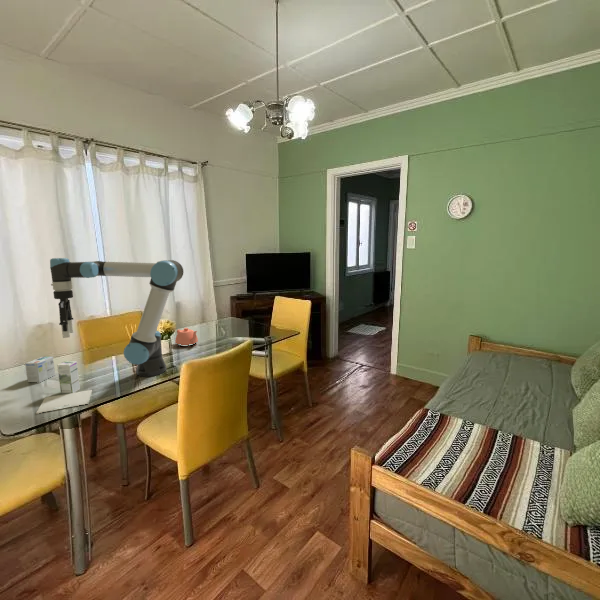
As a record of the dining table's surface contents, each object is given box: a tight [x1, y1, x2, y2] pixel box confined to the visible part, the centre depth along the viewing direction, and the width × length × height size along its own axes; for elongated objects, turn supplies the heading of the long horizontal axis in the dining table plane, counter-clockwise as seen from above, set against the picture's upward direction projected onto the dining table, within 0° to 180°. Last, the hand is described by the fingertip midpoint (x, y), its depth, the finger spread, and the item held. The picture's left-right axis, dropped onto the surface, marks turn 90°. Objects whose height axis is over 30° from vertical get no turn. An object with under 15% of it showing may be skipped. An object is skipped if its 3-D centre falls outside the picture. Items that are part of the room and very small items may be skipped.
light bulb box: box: [24, 356, 56, 384], centre depth 169 cm, size 11×7×11 cm, turn 178°
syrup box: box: [57, 360, 81, 395], centre depth 153 cm, size 6×6×14 cm
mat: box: [35, 389, 93, 415], centre depth 144 cm, size 18×16×1 cm
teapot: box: [174, 327, 199, 345], centre depth 230 cm, size 22×15×12 cm
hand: (68, 335), depth 159 cm, fingers open, 9 cm apart
